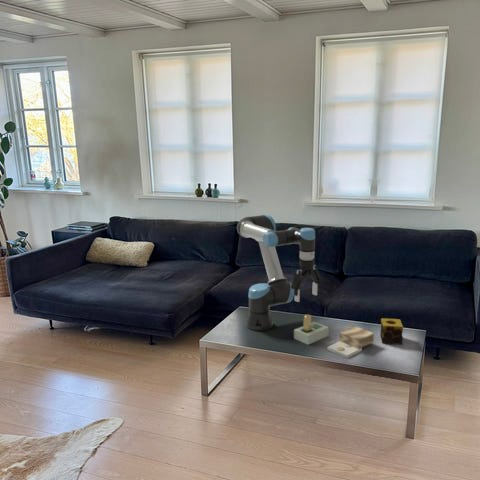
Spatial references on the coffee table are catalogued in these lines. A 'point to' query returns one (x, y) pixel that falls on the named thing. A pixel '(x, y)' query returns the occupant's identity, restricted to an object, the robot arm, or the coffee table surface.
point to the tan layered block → (356, 337)
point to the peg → (307, 323)
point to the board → (343, 349)
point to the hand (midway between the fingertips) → (305, 298)
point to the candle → (391, 331)
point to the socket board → (311, 333)
